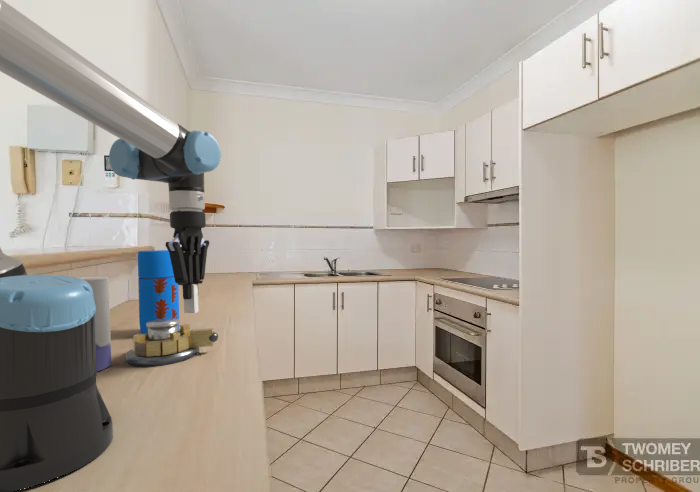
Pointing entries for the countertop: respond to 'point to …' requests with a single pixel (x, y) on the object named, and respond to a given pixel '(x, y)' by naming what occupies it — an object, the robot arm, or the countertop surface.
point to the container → (101, 320)
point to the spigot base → (160, 358)
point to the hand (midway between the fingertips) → (191, 312)
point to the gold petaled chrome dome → (174, 341)
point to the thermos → (156, 288)
